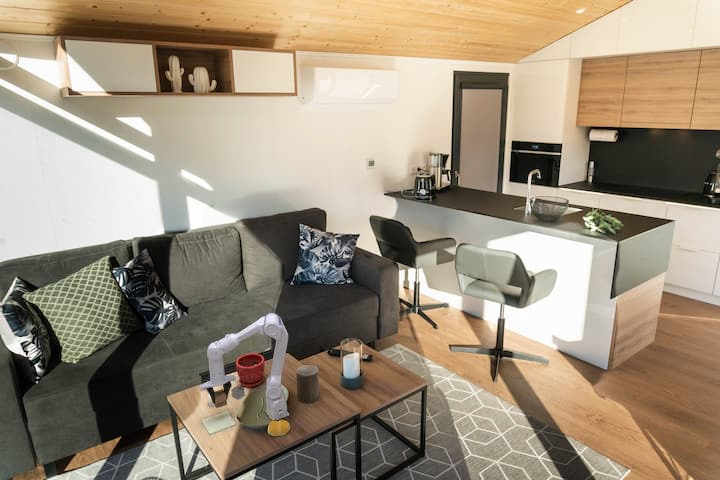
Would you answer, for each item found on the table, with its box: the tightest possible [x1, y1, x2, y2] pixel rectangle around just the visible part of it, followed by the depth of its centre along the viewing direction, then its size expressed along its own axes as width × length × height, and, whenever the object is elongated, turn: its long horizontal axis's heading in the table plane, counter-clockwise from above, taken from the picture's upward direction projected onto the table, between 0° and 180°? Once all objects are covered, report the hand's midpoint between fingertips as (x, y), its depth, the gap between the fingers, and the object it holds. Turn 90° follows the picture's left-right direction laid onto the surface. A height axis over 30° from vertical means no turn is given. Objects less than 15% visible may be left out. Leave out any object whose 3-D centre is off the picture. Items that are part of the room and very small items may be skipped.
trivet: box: [201, 410, 237, 436], centre depth 205 cm, size 11×11×1 cm
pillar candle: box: [295, 364, 320, 404], centre depth 220 cm, size 10×10×15 cm
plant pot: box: [235, 353, 266, 388], centre depth 234 cm, size 13×13×12 cm
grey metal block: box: [230, 385, 246, 400], centre depth 223 cm, size 4×4×4 cm
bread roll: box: [267, 419, 291, 437], centre depth 199 cm, size 8×9×4 cm
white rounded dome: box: [206, 392, 216, 408], centre depth 218 cm, size 5×5×5 cm
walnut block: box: [214, 388, 228, 409], centre depth 205 cm, size 4×4×5 cm
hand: (219, 400), depth 205 cm, fingers closed on walnut block, 4 cm apart
